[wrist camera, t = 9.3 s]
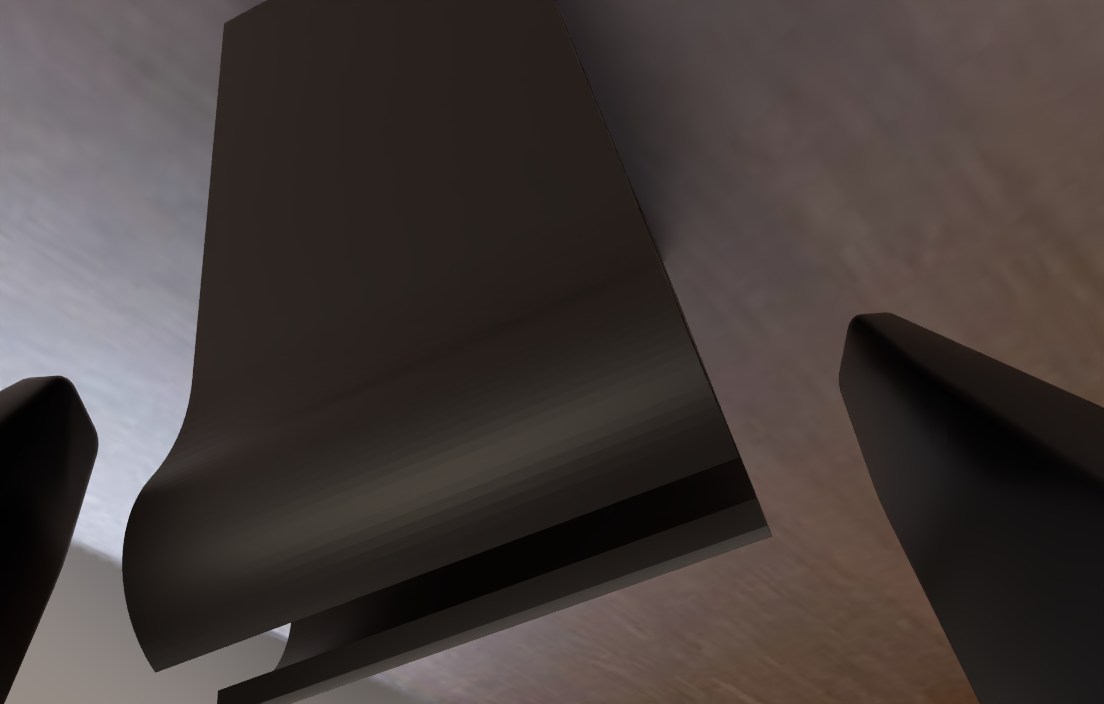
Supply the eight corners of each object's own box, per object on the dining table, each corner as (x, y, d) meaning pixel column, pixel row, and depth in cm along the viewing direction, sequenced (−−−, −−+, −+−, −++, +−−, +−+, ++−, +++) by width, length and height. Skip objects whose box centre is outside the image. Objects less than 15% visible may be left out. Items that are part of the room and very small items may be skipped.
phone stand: (229, 16, 15) (-245, 366, 5) (504, -129, 14) (546, -28, 4) (446, 355, 20) (408, 871, 10) (664, 265, 19) (857, 740, 9)
